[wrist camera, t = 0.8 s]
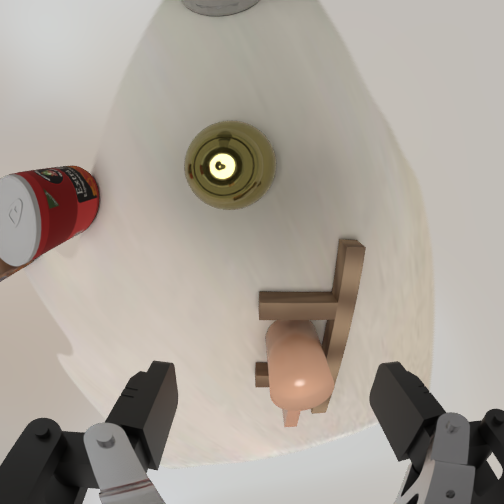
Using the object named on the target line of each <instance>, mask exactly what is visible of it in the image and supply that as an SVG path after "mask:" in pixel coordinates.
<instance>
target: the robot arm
mask: <svg viewBox="0 0 504 504" xmlns="http://www.w3.org/2000/svg"><path fill="white" fill-rule="evenodd" d="M258 1H259V0H182V2H183V4H184V5H185V6H186V7H187V8H189V9H190V10H192V11H194V12H196V13H199V14H203V15H209V16H222V15H230V14H234V13H238V12H241V11H243V10H246V9H248V8H249V7H251V6H253V5H254V4H255V3H257V2H258ZM177 405H178V390H177V383H176V375H175V367H174V364H173V363H169V362H161V361H153V362H152V364H151V366H150V368H149V369H148V371H147V372H141V371H140V372H138V373H137V374H136V375H134V376H133V377H131V378H130V380H129V381H128V383H127V385H126V387H125V389H124V390H123V392H122V393H121V396H120V397H119V398H118V400H117V402H116V404H115V405H114V407H113V409H112V411H111V412H110V414H109V416H108V418H107V419H106V421H105V423H98V424H95V425H93V426H91V427H90V428H89V429H88V430H87V431H86V432H85V433H80V432H66V431H62V430H61V428H60V426H59V425H58V424H57V423H56V422H55V421H54V420H52V419H48V418H39V419H35V420H33V421H32V422H30V423H29V424H28V425H27V427H26V428H25V429H24V431H23V432H22V434H21V435H20V437H19V438H18V440H17V441H16V443H15V445H14V446H13V447H12V449H11V450H10V452H9V453H8V455H7V456H6V458H5V460H4V461H3V463H2V464H1V466H0V504H82V503H83V500H84V497H85V494H86V492H87V489H88V488H96V489H100V491H101V493H99V496H100V500H101V502H102V504H165V502H164V501H163V499H162V498H161V496H160V494H159V493H158V491H157V490H156V488H155V486H154V485H153V483H152V482H151V481H150V479H149V478H148V476H147V474H146V473H147V470H148V468H149V469H154V470H158V468H159V464H160V461H161V458H162V454H163V451H164V448H165V444H166V441H167V438H168V435H169V431H170V428H171V425H172V422H173V418H174V415H175V412H176V409H177ZM370 405H371V407H372V409H373V411H374V413H375V415H376V417H377V419H378V421H379V423H380V425H381V427H382V429H383V431H384V433H385V435H386V437H387V439H388V441H389V443H390V445H391V447H392V449H393V451H394V453H395V455H396V457H397V459H398V461H402V460H406V459H409V458H410V460H411V463H410V465H409V466H408V469H407V472H406V474H405V477H404V480H403V483H402V485H401V488H400V491H399V493H398V496H397V498H396V501H395V502H394V504H504V411H503V410H500V409H492V410H489V411H488V412H487V413H486V415H485V417H484V418H483V419H482V421H473V422H468V421H467V419H466V418H465V417H463V416H462V415H460V414H458V413H446V412H445V410H444V409H443V408H442V406H441V405H440V404H439V403H438V401H437V400H436V399H435V398H434V396H433V395H432V394H431V393H429V390H428V389H427V388H426V386H425V387H424V384H423V383H422V381H421V380H420V379H419V378H418V377H417V376H415V375H414V374H412V373H411V372H409V371H408V372H407V371H406V370H405V368H404V367H403V366H402V365H401V363H400V362H398V361H397V362H389V363H382V364H380V365H379V367H378V370H377V373H376V377H375V380H374V383H373V386H372V389H371V392H370ZM492 452H493V453H494V455H495V456H496V458H497V459H498V461H499V463H500V464H501V466H502V468H503V473H502V476H501V478H500V479H499V480H498V479H497V477H496V475H495V474H494V472H493V470H492V469H491V467H490V465H489V464H488V462H487V461H486V460H487V458H488V457H489V456H490V455H491V453H492Z"/></svg>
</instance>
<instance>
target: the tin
mask: <svg viewBox="0 0 504 504" xmlns="http://www.w3.org/2000/svg"><path fill="white" fill-rule="evenodd" d="M33 261H34V260H32V261H30V262H28V263H26V264H23V265H21V266H12V265H9V264H7V263H6V262H5V261H3V260H2V259H1V258H0V282H1V281H2V280H4V279H5V278H7V277H9V276H10V275H12V274H14V273H15V272H17V271H19V270H20V269H22V268H24V267H26V266H27V265H29V264H30V263H32V262H33Z"/></svg>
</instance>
